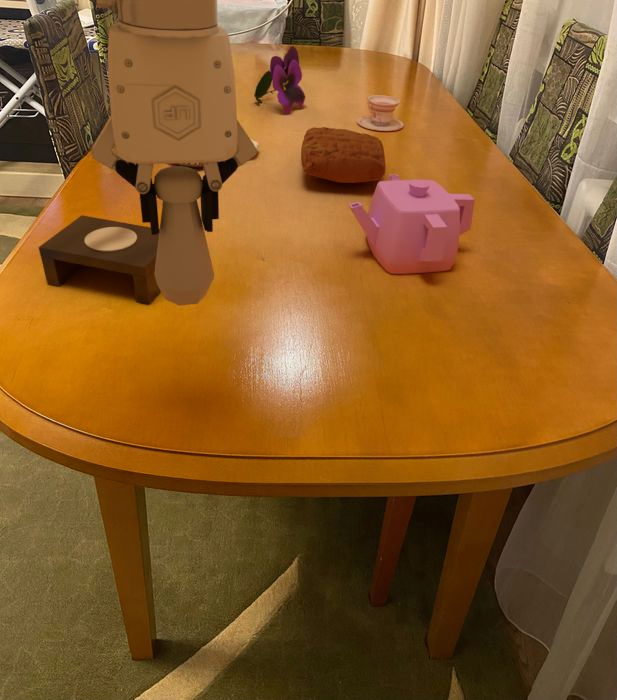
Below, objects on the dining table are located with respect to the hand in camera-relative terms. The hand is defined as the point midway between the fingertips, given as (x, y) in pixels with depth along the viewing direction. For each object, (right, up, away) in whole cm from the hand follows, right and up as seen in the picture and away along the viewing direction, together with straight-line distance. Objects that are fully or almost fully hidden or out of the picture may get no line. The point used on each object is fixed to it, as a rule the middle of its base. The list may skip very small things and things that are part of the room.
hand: (180, 225), depth 57 cm
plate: (-12, +32, +76) cm, 84 cm away
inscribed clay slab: (+19, +25, +69) cm, 76 cm away
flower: (+3, +54, +106) cm, 119 cm away
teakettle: (+28, +4, +44) cm, 52 cm away
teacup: (+30, +46, +99) cm, 113 cm away
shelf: (-17, -1, +33) cm, 37 cm away
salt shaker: (-1, -6, +5) cm, 8 cm away
